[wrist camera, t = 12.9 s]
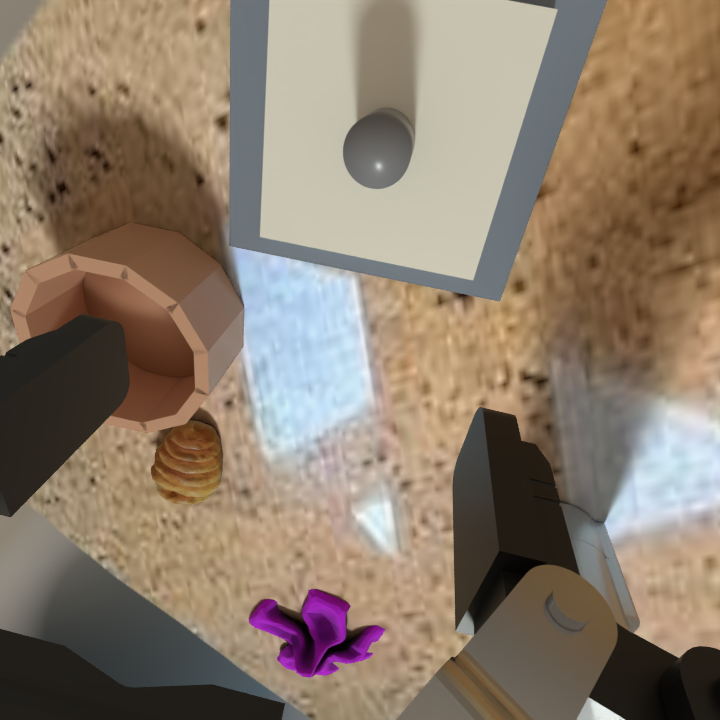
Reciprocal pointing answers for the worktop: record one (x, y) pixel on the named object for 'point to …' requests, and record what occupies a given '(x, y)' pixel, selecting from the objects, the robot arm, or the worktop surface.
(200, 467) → the pastry
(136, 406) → the bowl
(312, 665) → the cloth
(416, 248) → the cover
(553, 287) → the worktop surface
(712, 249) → the worktop surface
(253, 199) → the mat
